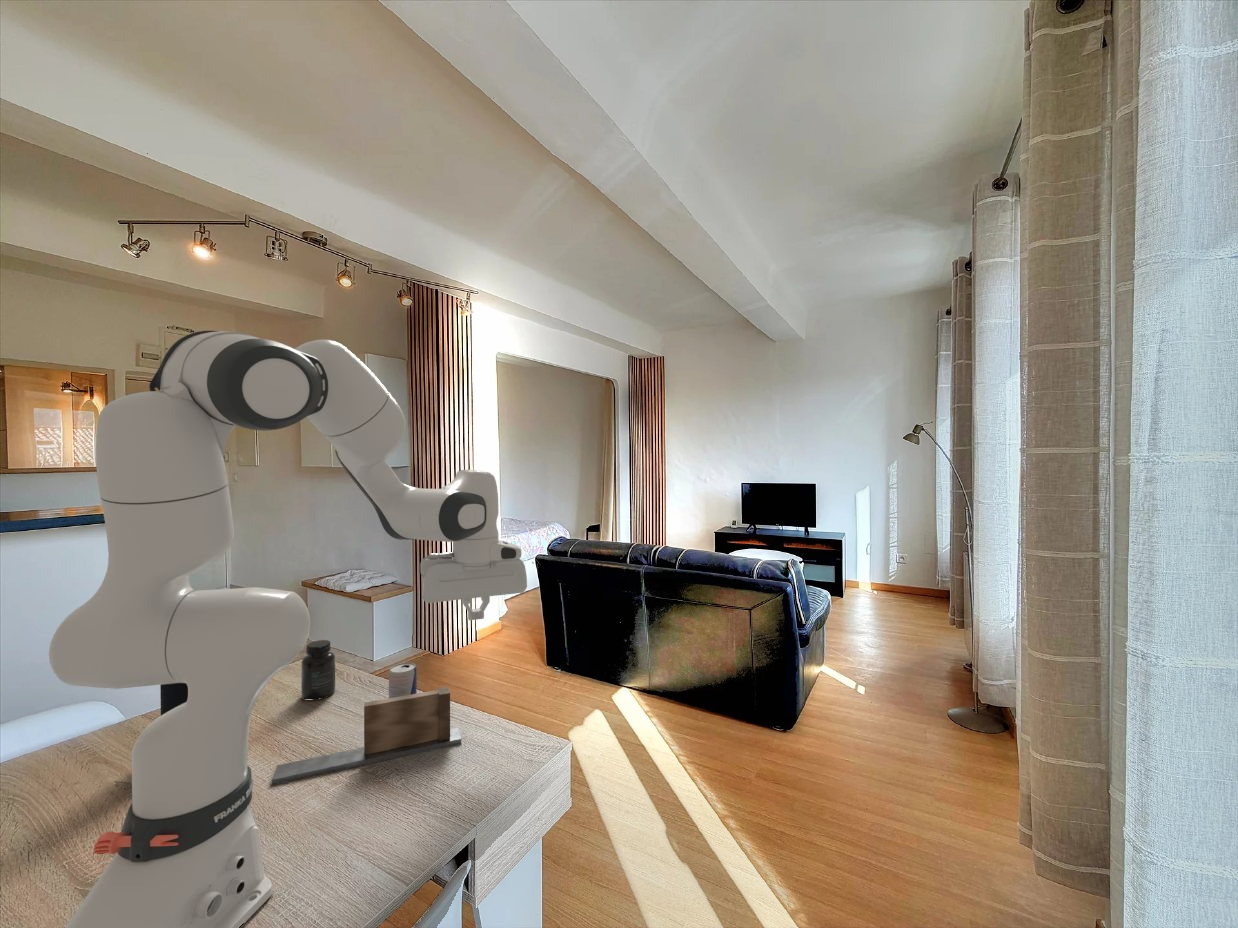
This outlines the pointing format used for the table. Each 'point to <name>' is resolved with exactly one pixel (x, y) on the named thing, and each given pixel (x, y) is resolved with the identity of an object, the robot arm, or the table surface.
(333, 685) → the supplement bottle
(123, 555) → the robot arm
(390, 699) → the walnut screen
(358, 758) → the screen rail
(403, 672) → the energy drink
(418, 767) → the table surface
